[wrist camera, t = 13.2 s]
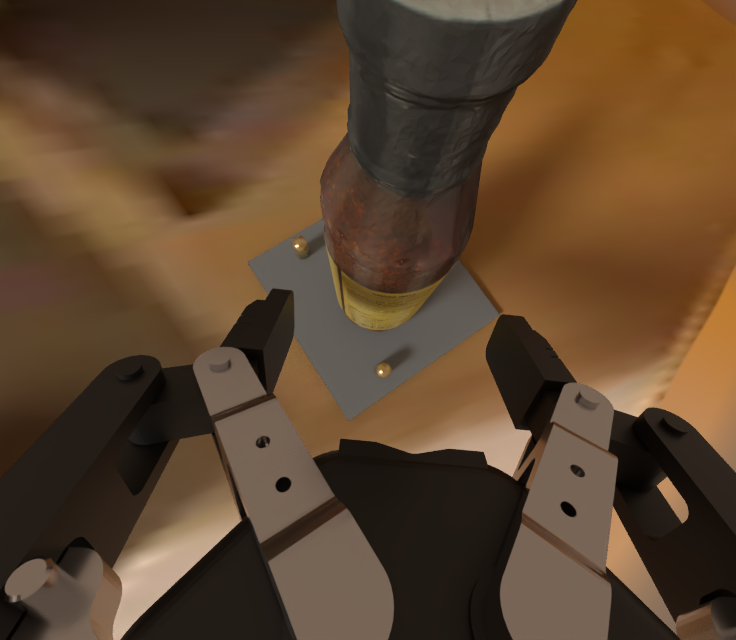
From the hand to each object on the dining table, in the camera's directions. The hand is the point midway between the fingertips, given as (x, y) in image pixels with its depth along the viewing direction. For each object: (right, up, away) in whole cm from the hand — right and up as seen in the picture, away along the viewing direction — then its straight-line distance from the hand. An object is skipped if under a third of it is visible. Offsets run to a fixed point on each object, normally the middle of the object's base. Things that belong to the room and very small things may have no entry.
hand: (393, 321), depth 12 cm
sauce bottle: (0, +2, +12) cm, 12 cm away
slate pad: (-1, +2, +12) cm, 13 cm away
